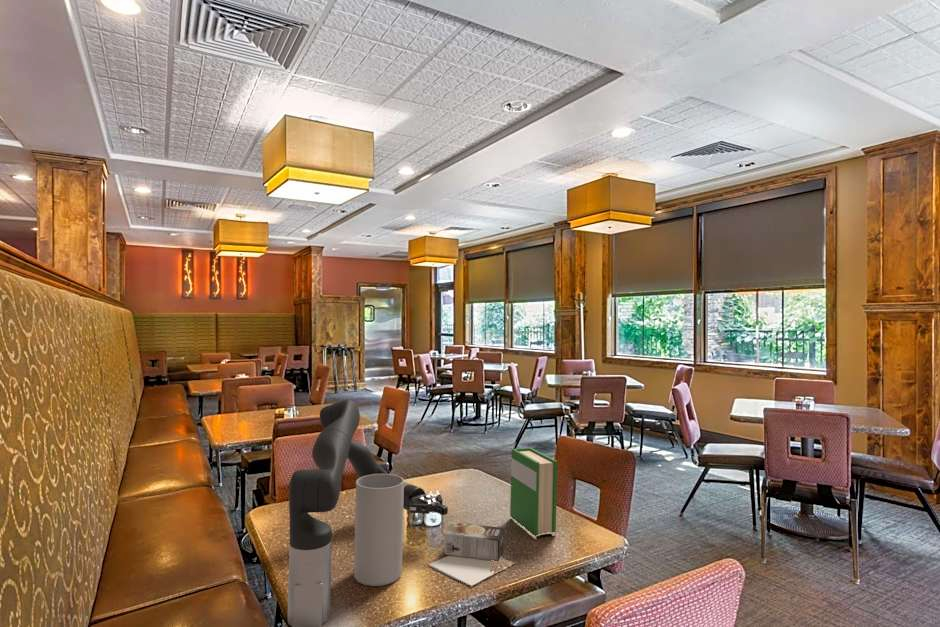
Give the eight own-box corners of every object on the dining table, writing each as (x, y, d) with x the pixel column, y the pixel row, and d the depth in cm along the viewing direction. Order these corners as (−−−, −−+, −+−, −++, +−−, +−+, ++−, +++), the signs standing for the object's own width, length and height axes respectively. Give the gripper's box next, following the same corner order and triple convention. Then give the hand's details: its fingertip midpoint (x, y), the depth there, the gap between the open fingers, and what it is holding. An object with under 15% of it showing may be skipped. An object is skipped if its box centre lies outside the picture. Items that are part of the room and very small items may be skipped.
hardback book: (555, 536, 165) (557, 460, 166) (535, 539, 163) (536, 462, 163) (529, 516, 182) (530, 447, 182) (510, 519, 179) (511, 449, 179)
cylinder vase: (380, 559, 147) (382, 471, 147) (411, 574, 139) (413, 480, 139) (343, 576, 137) (346, 481, 137) (375, 593, 129) (377, 492, 130)
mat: (515, 564, 146) (515, 562, 146) (471, 587, 133) (471, 585, 133) (473, 546, 157) (473, 544, 157) (429, 566, 144) (429, 564, 144)
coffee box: (452, 521, 158) (504, 526, 155) (451, 542, 158) (504, 548, 155) (444, 533, 149) (500, 539, 146) (443, 555, 149) (499, 562, 146)
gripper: (391, 489, 160) (429, 503, 148) (423, 480, 169) (461, 493, 158) (390, 513, 160) (429, 530, 148) (422, 503, 169) (461, 518, 157)
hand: (445, 511), depth 153 cm, fingers closed
